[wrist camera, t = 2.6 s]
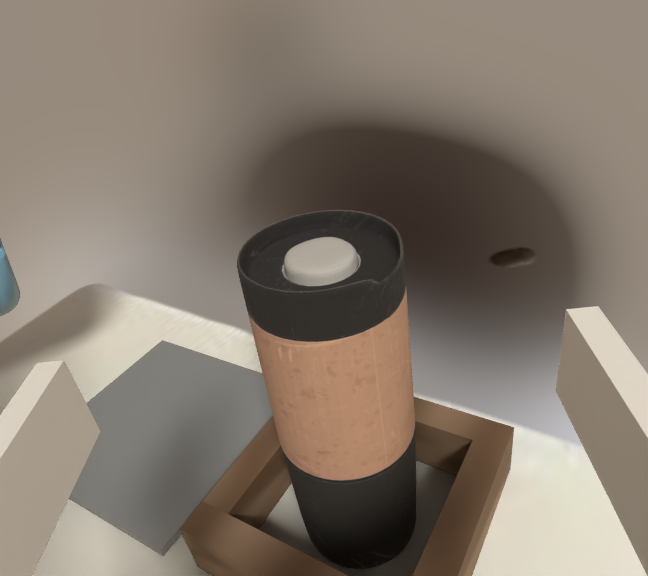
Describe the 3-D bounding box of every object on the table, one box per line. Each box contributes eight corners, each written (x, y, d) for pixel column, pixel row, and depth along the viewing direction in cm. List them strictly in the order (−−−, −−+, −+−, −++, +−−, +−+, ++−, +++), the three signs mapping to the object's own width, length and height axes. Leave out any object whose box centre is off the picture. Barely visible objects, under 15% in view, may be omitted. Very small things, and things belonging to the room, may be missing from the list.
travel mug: (295, 480, 38) (231, 225, 27) (400, 456, 38) (380, 197, 27) (310, 587, 31) (235, 311, 20) (437, 557, 32) (429, 271, 21)
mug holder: (197, 566, 33) (179, 528, 31) (321, 403, 44) (314, 366, 41) (426, 702, 26) (423, 665, 24) (510, 468, 36) (514, 427, 34)
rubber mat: (18, 467, 42) (15, 462, 42) (163, 345, 53) (162, 340, 53) (163, 555, 34) (160, 550, 34) (298, 390, 45) (297, 385, 45)
